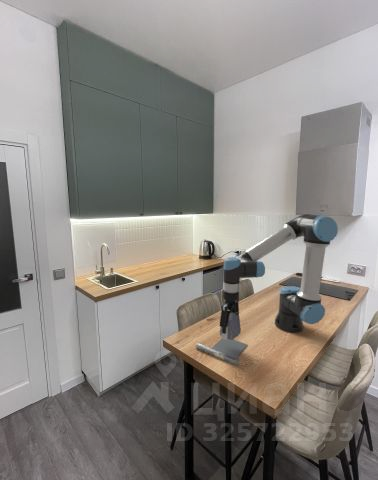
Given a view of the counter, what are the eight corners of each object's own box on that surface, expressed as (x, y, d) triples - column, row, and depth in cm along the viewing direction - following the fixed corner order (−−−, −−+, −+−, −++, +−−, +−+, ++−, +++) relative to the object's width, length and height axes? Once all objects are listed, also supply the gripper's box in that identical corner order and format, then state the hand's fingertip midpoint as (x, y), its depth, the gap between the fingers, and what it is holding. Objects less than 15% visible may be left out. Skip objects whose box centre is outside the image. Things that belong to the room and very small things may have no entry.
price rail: (238, 363, 110) (238, 359, 110) (236, 366, 109) (237, 362, 108) (197, 346, 123) (197, 342, 122) (195, 348, 121) (195, 344, 121)
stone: (227, 330, 128) (245, 331, 122) (219, 343, 120) (238, 344, 114) (220, 310, 126) (237, 309, 120) (211, 321, 118) (229, 321, 112)
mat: (247, 345, 124) (247, 344, 124) (234, 360, 112) (234, 360, 112) (224, 336, 132) (224, 335, 132) (209, 350, 120) (209, 349, 120)
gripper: (233, 282, 128) (231, 323, 131) (212, 295, 110) (211, 341, 114) (247, 285, 123) (245, 327, 127) (227, 299, 106) (225, 347, 110)
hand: (229, 334), depth 121 cm, fingers closed on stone, 9 cm apart
